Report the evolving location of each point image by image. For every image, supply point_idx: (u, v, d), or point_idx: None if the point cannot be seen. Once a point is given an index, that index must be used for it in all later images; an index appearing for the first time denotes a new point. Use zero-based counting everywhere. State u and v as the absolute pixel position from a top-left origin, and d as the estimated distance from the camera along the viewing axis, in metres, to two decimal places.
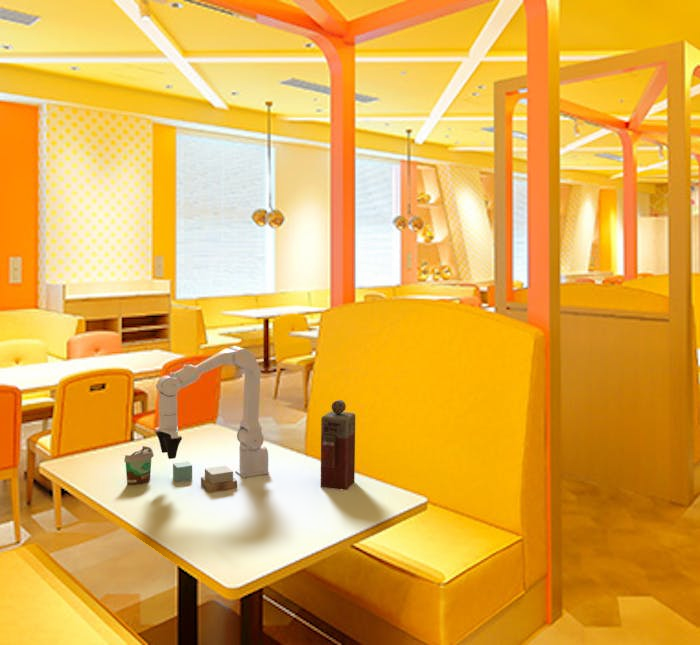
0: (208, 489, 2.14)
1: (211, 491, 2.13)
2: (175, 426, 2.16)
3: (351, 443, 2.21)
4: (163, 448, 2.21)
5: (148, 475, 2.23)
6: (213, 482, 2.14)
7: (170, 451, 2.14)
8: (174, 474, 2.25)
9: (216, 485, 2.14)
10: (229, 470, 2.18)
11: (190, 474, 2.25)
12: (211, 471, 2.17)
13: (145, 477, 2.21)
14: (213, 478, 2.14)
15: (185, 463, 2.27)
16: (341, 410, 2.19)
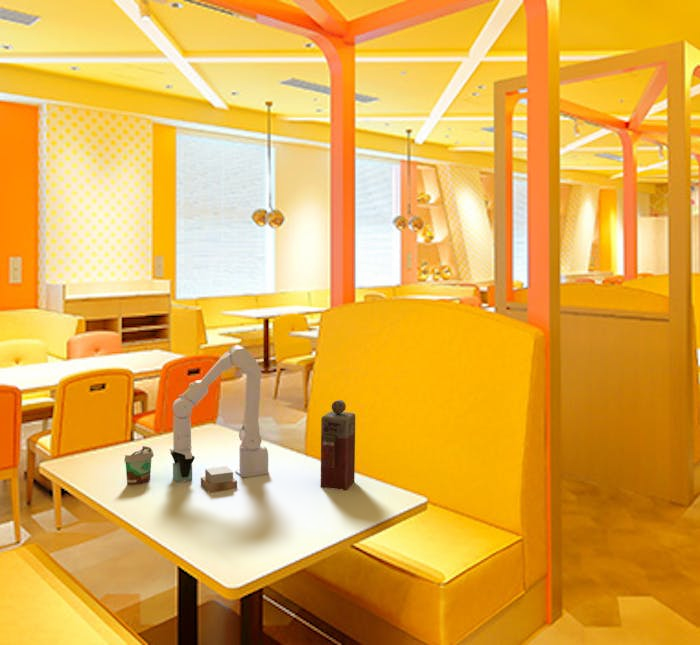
0: (208, 489, 2.14)
1: (211, 491, 2.13)
2: (189, 447, 2.24)
3: (351, 443, 2.21)
4: None
5: (148, 475, 2.23)
6: (213, 482, 2.14)
7: (183, 470, 2.23)
8: (174, 474, 2.25)
9: (216, 485, 2.14)
10: (229, 471, 2.18)
11: (190, 474, 2.25)
12: (211, 471, 2.17)
13: (145, 477, 2.21)
14: (213, 478, 2.14)
15: None
16: (341, 410, 2.19)
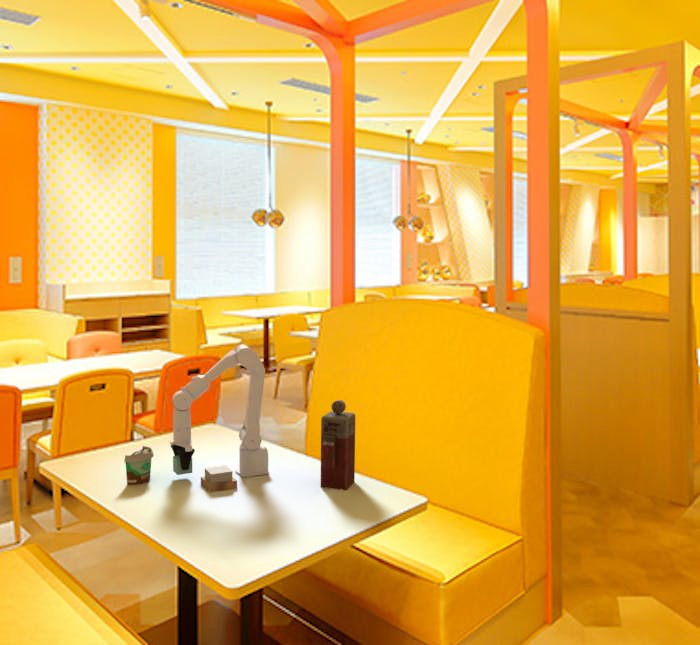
0: (208, 489, 2.14)
1: (211, 491, 2.13)
2: (189, 439, 2.24)
3: (351, 443, 2.21)
4: None
5: (148, 475, 2.23)
6: (212, 482, 2.14)
7: (183, 463, 2.22)
8: (174, 467, 2.25)
9: (216, 485, 2.14)
10: (228, 470, 2.18)
11: (190, 467, 2.25)
12: (211, 471, 2.17)
13: (145, 477, 2.21)
14: (212, 478, 2.14)
15: None
16: (341, 410, 2.19)
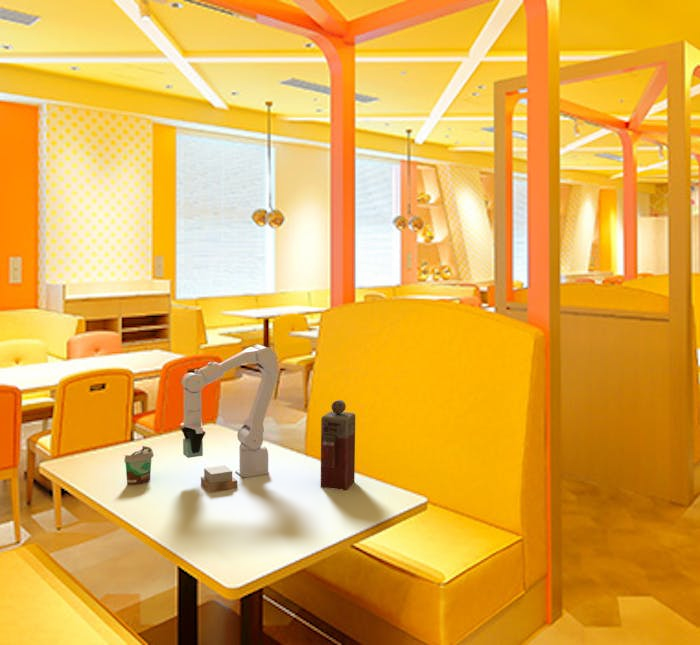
0: (208, 489, 2.14)
1: (211, 491, 2.13)
2: (199, 422, 2.21)
3: (351, 443, 2.21)
4: None
5: (148, 475, 2.23)
6: (212, 482, 2.14)
7: (194, 445, 2.20)
8: (184, 450, 2.23)
9: (216, 485, 2.14)
10: (228, 470, 2.18)
11: (200, 450, 2.22)
12: (211, 471, 2.17)
13: (145, 477, 2.21)
14: (212, 478, 2.14)
15: None
16: (341, 410, 2.19)
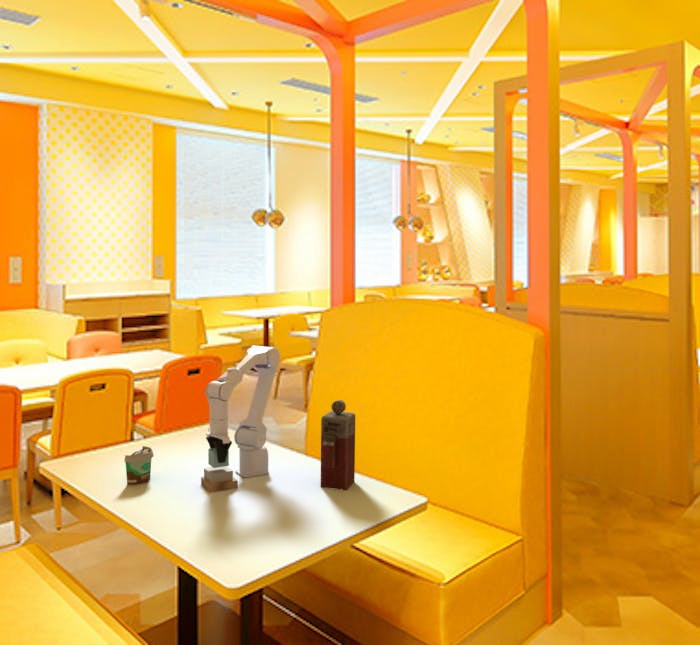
0: (209, 489, 2.14)
1: (212, 491, 2.13)
2: (226, 431, 2.16)
3: (351, 443, 2.21)
4: None
5: (148, 475, 2.23)
6: (213, 482, 2.15)
7: (220, 455, 2.15)
8: (210, 459, 2.18)
9: (217, 485, 2.14)
10: (229, 469, 2.19)
11: (226, 459, 2.17)
12: (211, 471, 2.17)
13: (145, 477, 2.21)
14: (213, 478, 2.15)
15: None
16: (341, 410, 2.19)
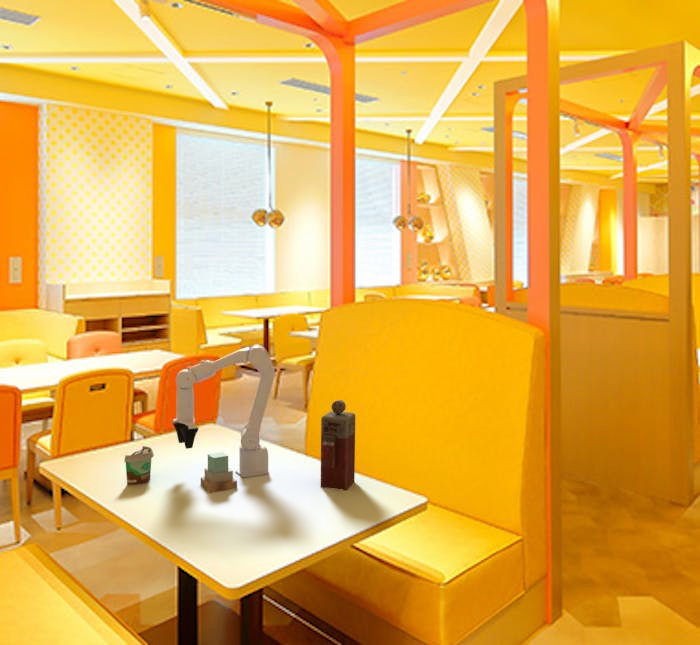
0: (208, 489, 2.14)
1: (211, 491, 2.13)
2: (192, 417, 2.27)
3: (351, 443, 2.21)
4: (180, 438, 2.31)
5: (148, 475, 2.23)
6: (213, 482, 2.15)
7: (187, 441, 2.25)
8: (209, 465, 2.18)
9: (216, 485, 2.14)
10: (229, 469, 2.19)
11: (226, 465, 2.17)
12: None
13: (145, 477, 2.21)
14: (213, 478, 2.15)
15: (220, 453, 2.19)
16: (341, 410, 2.19)
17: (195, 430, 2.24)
